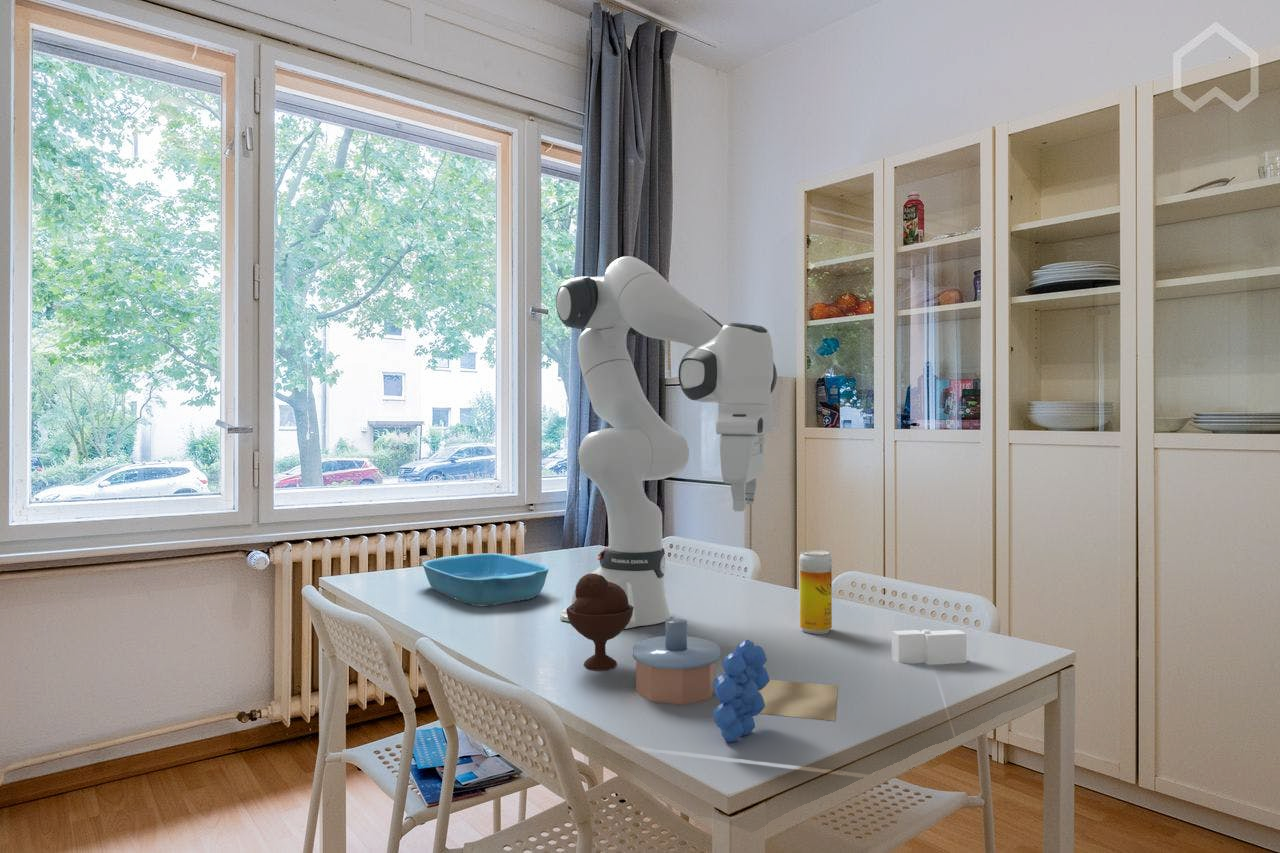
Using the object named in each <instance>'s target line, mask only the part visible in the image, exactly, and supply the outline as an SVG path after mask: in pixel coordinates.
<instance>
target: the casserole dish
mask: <svg viewBox="0 0 1280 853" xmlns="http://www.w3.org/2000/svg"><path fill="white" fill-rule="evenodd" d="M422 567H423V569H424V572H425V575H426V578H427V581H428V583H429V585H430V587H431V588H433V589H434V590H435V591H437V592H438V591H439V593H440V592H441V593H440V594H442V593H444V594H443V595H445V594H446V595H445V596H447V595H448V596H447V597H449V596H451V597H450V598H452V597H453V598H452V599H454V598H456V599H458V600H457V601H459V600H460V601H459V602H461V601H463V602H462V603H464V602H466V603H469V604H474V605H491V606H495V605H494V604H498V605H502V604H501V603H504V604H509V603H515V602H514V601H517V602H521V601H520V600H522V601H526V600H525V599H527V600H531V599H530V598H532V599H534V598H533V597H535V596H536V597H537V596H538V595H539V594H540V593H541V592H542V591H543V588H544V586H545V582H546V580H547V576H548V573H549V567H548V566H547V565H545V564H541V563H538V562H534V561H531V560H527V559H524V558H520V557H517V556H513V555H509V554H505V553H497V552H495V553H494V552H493V553H491V552H487V553H469V554H458V555H451V556H442V557H439V558H435V559H434V558H433V559H429V560H426V561H423V562H422ZM536 597H535V598H536ZM456 599H455V600H456ZM508 602H509V603H508ZM466 603H465V604H466ZM469 604H468V605H469ZM474 605H473V606H474Z"/></svg>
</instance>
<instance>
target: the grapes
mask: <svg viewBox="0 0 1280 853" xmlns="http://www.w3.org/2000/svg"><path fill="white" fill-rule="evenodd" d="M766 655H767V654H766V652H765V650H764V649H763V647H761V646H759V645H755V643H754V642H753V641H751V640H750V639H745V640H744V639H743V640H742V641H741V642H739V643H738V645H737V646H736V647H735V649H734V651H732V652H730V653H729V654H728V655H727V656H726V657H725V658H724V659H723V661H722V667H723V671H724V672H723V673H721V674H719V675H718V676H717V677H716V679H715V681H714V682H713V688H714V692H713V693H714V696H715V697H716V699H717V701H718V702H719V704H718V705H717V706H716V707H715V709H714V710H713V711H712V717H713V721H714V723H715V724H716V726H717V728H719V729H720V732H721V736H722V737H723V739H724V741H725V742H727V743H729V744H730V743H734V742H736V741H737V740H738V739H739V738H740V737H744V736H749V735H750V734H751V733H752V731H753V730H754V729H755V727H756V726H755V725H756V724H755V719H754V717H757V716H758V715H759V713H760V712H761V711H762V710H763V709H764V707H765V703H764V699H763V697H762V695H761V693H759V690H761V689H763V688H764V687H765V686H766V685H767V684H768V682H769V681H770V680H771V679H770V677H769V672H768V670H767V669H766V668H765V667H764V665H765V664H766V662H767V661H768V659H767V656H766Z"/></svg>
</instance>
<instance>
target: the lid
mask: <svg viewBox="0 0 1280 853" xmlns="http://www.w3.org/2000/svg"><path fill="white" fill-rule="evenodd" d="M664 624H665V629H664V630H665V635H664V636H655V637H650V638H645V639H642V640H640V641H638V642H635V643H634V645H633V646H632V658H633V659H634V660H635V662H636V661H638V662H640V663H642V664H645V665H648V666H652V667H658V668H666V669H690V668H698V667H703V666H707V665H710V664H713V663H715V662H716V663H717V662H718V661H719V660H720V659H721V648H720V646H719V645H718V644H717V643H716V642H714V641H711V640H708V639H704V638H701V637H697V636H696V637H695V636H688V620H686V619H683V618H670V619H668V620H666V621H664Z"/></svg>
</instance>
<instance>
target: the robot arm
mask: <svg viewBox="0 0 1280 853" xmlns="http://www.w3.org/2000/svg"><path fill="white" fill-rule="evenodd" d="M555 297H556V298H555V306H556V307H555V308H556V313H557V316H558V318H559V319H560V321H561V323H562V324H563V325H564V326H565V327H568V328H572V329H575V330H576V329H577V330H583V329H584V330H583V331H582V332H581V333H580V335H579V336H578V339H577V354H578V360H579V367H580V370H581V375H582V378H583V381H584V385H585V387H586V391H587V395H588V397H589V401H590V403H591V408H592V410H593V412H594V413H595V414H596V416H598V417H599V418H600V419H601V420H602V421H605V422H607V423H608V424H609V425H610V426H611V427H608V428H603V429H600V430H596V431H592V432H589V433H587V434H586V435H585V436H584V438H583V439H582V440H581V442H580V446H579V448H578V454H577V455H578V456H577V458H578V459H577V460H578V463H579V467H580V468H581V471H582V472H583V474H584V475H585V476H586V477H587V478H588V479H589V480H591V481H592V483H594V485H595V486H596V487H597V490H599V492H600V494H601V497H602V499H603V501H604V503H605V504H604V505H605V508H606V513H607V514H606V515H607V526H608V527H607V528H608V529H607V530H608V546H606V547H604V548H603V550H602V551H600V553H599V554H597V556H598V557H597V561H599V564H600V566H599V567H597V568H596V569H595V570H594V571H592V572H591V573H593V574H598V575H602V576H603V577H604V578H605V579H606V580H607V582H612V583H615V584H617V585H619V586H620V587H621V588H622V589H623V590H624V591H625V593H626V595H627V598H628V604H629V605H631V606H633V607H634V608H633V613H632V617H631V619H630V622H629V623H628V625H627V626H626V627H625V628H624V629H625V630H626V629H631V628H635V627H640V626H641V627H642V626H651V625H657V624H661V623H665V621H666V620H668V619H671V617H672V616H671V613H670V611H669V610H670V608H669V605H668V601H667V596H666V589H665V578H664V576H665V574H666V554H665V548H663V513H662V510H661V508H660V507H659V506H658V505H657V504H656V503H655V502H653V501H651V500H650V499H649V498H648V496H647V494H646V492H645V489H644V484H643V482H644V481H654V480H655V481H656V480H658V481H659V480H664V479H667V478H670V477H673V476H676V475H679V474H681V473H682V472H683V471H684V470H685V468H686V466H687V464H688V461H689V455H690V450H689V449H690V448H689V444H688V442H687V440H686V438H685V437H684V436H683V435H682V433H681V432H678V431H677V430H675V429H673V428H672V427H671V426H669V424H667V423H666V422H665V421H664V419H662V418H661V416H660V415H659V414H658V413H657V412H656V410H655V409H654V407H653V406H652V405H651V403H650V402H649V401H648V398H647V396H646V395H645V393H644V391H643V388H642V386H641V383H640V381H639V378H638V375H637V372H636V369H635V366H634V363H633V361H632V358H631V356H630V353H629V351H628V348H627V340H626V339H627V337H628V336H627V335H630V336H633V337H634V336H637V335H639V334H641V335H643V336H644V337H646V338H651V339H655V340H656V339H657V340H661V341H662V340H663V341H669V342H673V343H674V342H675V343H679V344H684V345H687V346H689V347H690V346H691V347H692V348H690V349H689V350H688V351H686V353H685V354H684V355H683V356H682V358H681V360H680V364H679V365H678V366H679V367H678V373H677V374H678V375H677V376H678V384H679V386H680V389H681V391H682V392H683V394H684V396H686V398H688V399H689V400H691V401H695V402H699V403H717V404H718V406H717V409H718V411H717V413H718V414H717V419H716V422H715V433H716V435H720V436H719V456H720V470H721V477H722V480H723V483H725V484H730V491H731V496H732V509H733V511H734V512H744V511H745V510H746V509H747V506H746V505H749V506H750V505H753V504H754V503H755V502H756V490H757V486H758V485H757V484H758V478H759V477H760V476H762V475H764V473H765V472H764V471H765V446H764V444H765V442H766V440H765V436H766V434H773V432H774V430H773V429H774V428H773V427H774V426H773V424H774V423H773V422H774V421H773V419H774V405H773V404H774V401H773V397H772V393H773V392H774V390H775V388H776V385H777V380H778V372H777V368H776V365H775V362H774V351H773V350H774V348H773V343H772V339H771V334H770V332H769V330H768V329H767V328H765V327H764V326H762V325H757V324H749V323H748V324H747V323H741V322H729V323H726V324H724V325H723V324H722V323H721V322H720V321H718V320H717V319H716V318H714V317H713V316H711V315H710V314H709V313H708V312H706V311H704V310H703V309H702V308H701V307H699V306H698V305H696V303H694V302H692V301H691V300H690V299H688V298H687V297H686V296H684V295H683V294H682V293H681V292H680V291H678V289H676V288H675V287H674V286H673V285H672V284H670V283H669V281H667V280H666V279H665V278H664V277H663V275H661V274H660V273H659V272H658V271H657V270H655V269H654V268H653V267H652V266H650V265H649V264H648V263H646V262H645V261H643V260H641V259H639V258H638V257H635V256H631V255H629V256H626V255H625V256H621V257H619V258H617V259H615V260H614V261H612V262H611V263H610V264H609V266H608V267H607V268H606V270H605V273H604V276H603V275H602V276H577V277H573V278H569V279H565V280H564V281H563V282H562V283H561V285H560V286H559V288H558V289H557V293H556V296H555ZM575 589H576V587H575V588H574V590H573V593H572V594H573V595H572V599H571V604H570V605H568V606H567V607H565V608H564V609H562V611H561V612H560V620H561V621H563V622H569V623H570V621H569V619H568V616H567V611H566V609H567V608H568V607H569V606H571V605H572V604H574V602H575V601H576V600H577V599H576V594H575ZM624 629H623V630H624Z"/></svg>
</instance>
